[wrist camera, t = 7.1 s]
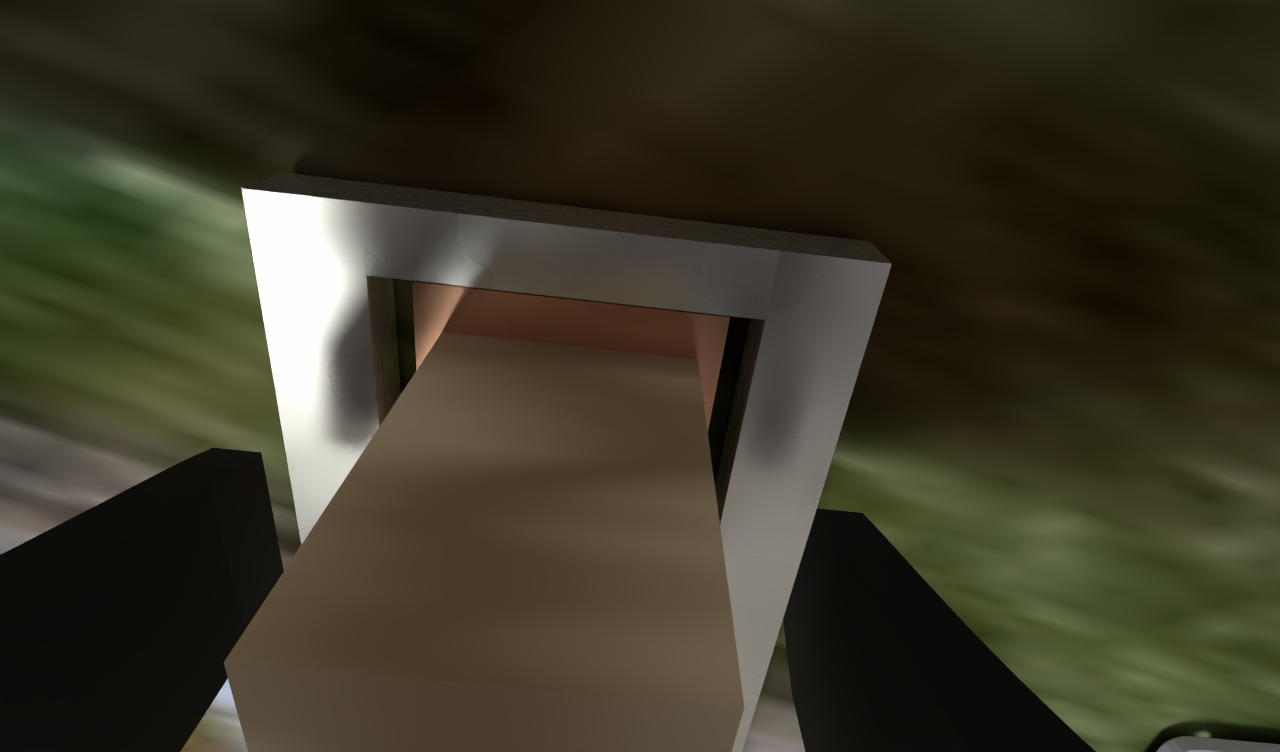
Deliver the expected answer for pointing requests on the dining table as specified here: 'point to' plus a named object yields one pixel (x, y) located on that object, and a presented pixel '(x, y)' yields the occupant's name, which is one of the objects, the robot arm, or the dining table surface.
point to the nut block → (509, 570)
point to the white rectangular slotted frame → (571, 338)
